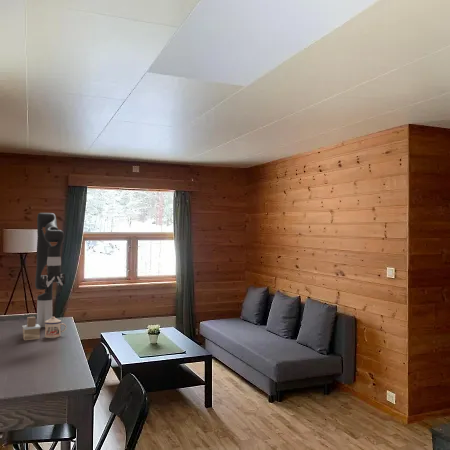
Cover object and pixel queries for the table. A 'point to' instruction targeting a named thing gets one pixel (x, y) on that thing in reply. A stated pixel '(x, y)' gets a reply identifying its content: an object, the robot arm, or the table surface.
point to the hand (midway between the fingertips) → (53, 292)
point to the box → (31, 334)
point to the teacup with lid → (53, 328)
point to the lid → (31, 324)
